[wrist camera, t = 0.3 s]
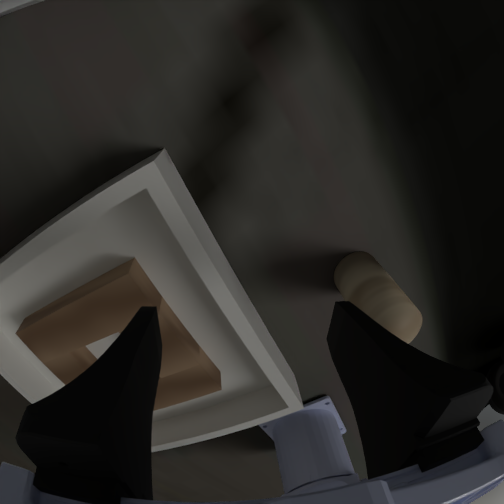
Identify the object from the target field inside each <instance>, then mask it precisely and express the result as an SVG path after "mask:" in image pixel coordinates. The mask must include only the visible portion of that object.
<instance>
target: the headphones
mask: <svg viewBox="0 0 504 504" xmlns="http://www.w3.org/2000/svg"><path fill="white" fill-rule="evenodd" d="M500 354H501V359H502V360H501V361H498V362H497V363H495V364H494V365H493V366H492V367H491V368H490V370H489V371H488V373H487V375H486V378H487V380H488V381H489V382H490V384H491V385H492V387H493V394H492V396H491V398H490V400H489V401H488V403H489V404H490V406H491V407H492V408H493V409H494V410H495V411H496V412H498V413H500V414H504V341H503V343H502V346H501V351H500Z"/></svg>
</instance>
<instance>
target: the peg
mask: <svg viewBox="0 0 504 504" xmlns="http://www.w3.org/2000/svg"><path fill="white" fill-rule="evenodd" d="M334 283H335V285H336V287H337V288H338V290H339V292H340V293H341V295H342V297H343V298H344V300H345V301H350V302H351V303H353V304H354V305H355V306H357V307H358V308H359V309H361V310H362V311H363V312H364V313H366V314H367V315H368V316H370V317H371V318H372V319H373V320H375V321H376V322H377V323H379V324H380V325H381V326H383V327H384V328H385V329H387V330H388V331H389V332H391V333H392V334H394V335H395V336H397V337H398V338H400V339H401V340H403V341H404V342H406V343H407V344H409V343H410V342H411V341H412V340H413V339H414V338H415V336H416V335H417V334H418V332H419V330H420V328H421V325H422V315H421V313H420V311H419V310H418V309H417V308H416V306H415V305H414V304H413V303H412V302H411V300H410V299H409V298H408V297H407V296H406V294H405V293H404V292H403V291H402V290H401V288H400V287H399V286H398V285H397V284H396V283H395V281H394V280H393V279H392V278H391V277H390V276H389V274H388V273H387V272H386V271H385V270H384V269H383V268H382V266H381V265H380V264H379V263H378V262H377V261H376V260H375V258H374V257H373V256H372V255H370V254H369V253H367V252H354V253H351V254H349V255H347V256H346V257H344V258H343V259H342V260H341V261H340V262H339V264H338V265H337V267H336V269H335V272H334Z"/></svg>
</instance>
